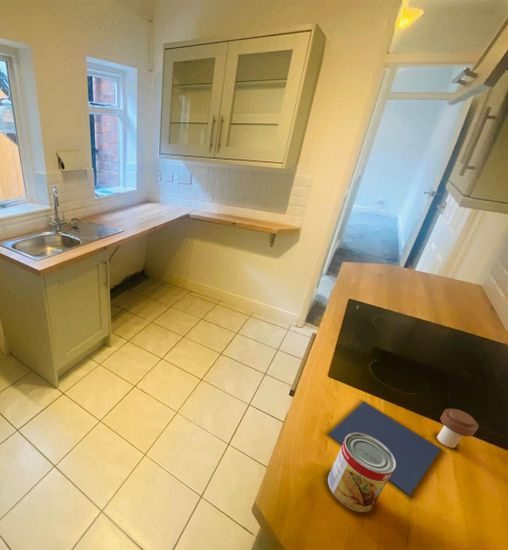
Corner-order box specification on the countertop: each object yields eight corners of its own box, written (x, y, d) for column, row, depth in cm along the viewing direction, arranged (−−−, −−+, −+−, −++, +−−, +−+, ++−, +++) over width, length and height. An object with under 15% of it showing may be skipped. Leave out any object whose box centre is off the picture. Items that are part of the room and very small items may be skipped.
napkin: (363, 402, 81) (364, 401, 81) (440, 450, 69) (440, 449, 69) (328, 434, 72) (328, 433, 72) (409, 495, 60) (409, 495, 60)
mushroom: (435, 426, 75) (450, 402, 71) (465, 444, 71) (483, 419, 67) (426, 438, 72) (442, 413, 68) (458, 457, 68) (476, 431, 64)
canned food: (380, 518, 57) (404, 478, 52) (333, 504, 59) (352, 465, 53) (364, 476, 64) (385, 438, 58) (323, 466, 65) (339, 428, 60)
